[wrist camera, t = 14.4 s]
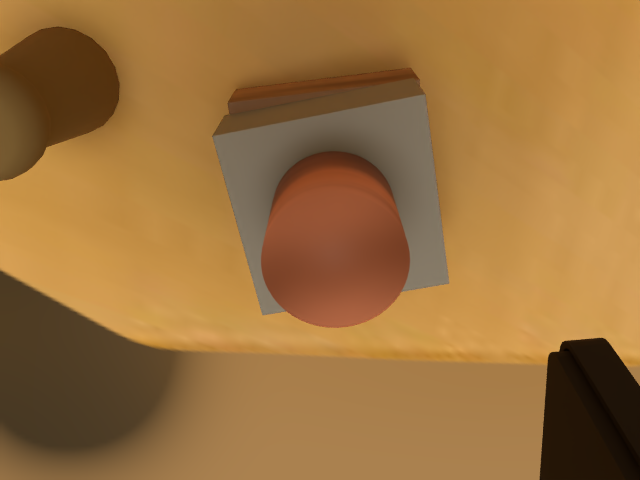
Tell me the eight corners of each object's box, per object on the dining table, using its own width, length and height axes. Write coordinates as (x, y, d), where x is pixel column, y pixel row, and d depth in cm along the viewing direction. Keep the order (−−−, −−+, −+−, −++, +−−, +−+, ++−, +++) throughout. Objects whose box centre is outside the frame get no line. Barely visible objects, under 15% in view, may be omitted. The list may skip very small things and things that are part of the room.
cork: (129, 48, 34) (49, 87, 24) (108, 147, 37) (28, 219, 27) (20, 10, 34) (-109, 34, 24) (6, 114, 36) (-116, 175, 26)
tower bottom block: (237, 87, 36) (227, 102, 32) (409, 66, 35) (419, 79, 32) (264, 242, 40) (258, 271, 36) (418, 225, 39) (428, 253, 36)
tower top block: (224, 115, 32) (212, 136, 29) (413, 77, 31) (425, 94, 28) (268, 279, 36) (262, 315, 33) (436, 249, 36) (449, 283, 32)
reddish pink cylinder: (261, 162, 29) (246, 206, 24) (386, 141, 29) (400, 181, 23) (285, 273, 32) (277, 336, 26) (401, 255, 31) (417, 316, 26)
